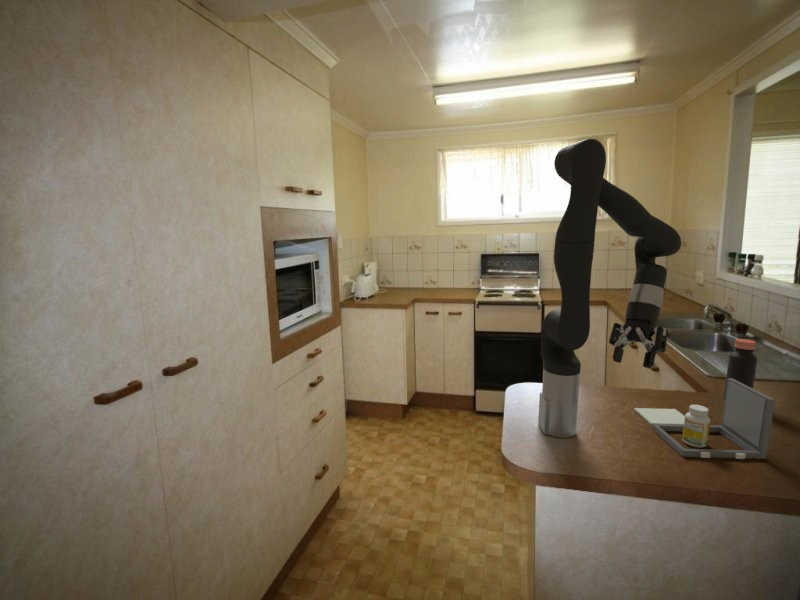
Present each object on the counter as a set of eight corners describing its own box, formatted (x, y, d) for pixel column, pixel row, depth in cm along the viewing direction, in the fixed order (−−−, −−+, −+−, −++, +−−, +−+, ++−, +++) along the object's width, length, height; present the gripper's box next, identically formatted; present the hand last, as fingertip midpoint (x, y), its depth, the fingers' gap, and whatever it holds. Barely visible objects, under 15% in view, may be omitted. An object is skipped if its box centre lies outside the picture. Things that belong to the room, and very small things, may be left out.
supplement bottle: (692, 448, 105) (697, 412, 104) (676, 438, 111) (680, 403, 109) (712, 447, 106) (717, 411, 104) (695, 437, 111) (700, 402, 110)
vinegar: (740, 398, 136) (749, 338, 132) (756, 406, 129) (765, 344, 126) (718, 397, 137) (726, 337, 133) (732, 406, 130) (741, 343, 126)
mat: (651, 424, 118) (651, 423, 118) (633, 409, 128) (634, 408, 128) (695, 425, 117) (695, 424, 117) (674, 410, 127) (675, 408, 127)
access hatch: (683, 457, 101) (691, 399, 99) (652, 429, 116) (657, 377, 113) (767, 460, 100) (777, 400, 97) (725, 430, 114) (732, 378, 112)
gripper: (611, 299, 114) (598, 357, 113) (661, 300, 101) (647, 366, 100) (629, 306, 117) (617, 363, 116) (681, 308, 104) (667, 373, 103)
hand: (631, 364), depth 108 cm, fingers open, 8 cm apart
